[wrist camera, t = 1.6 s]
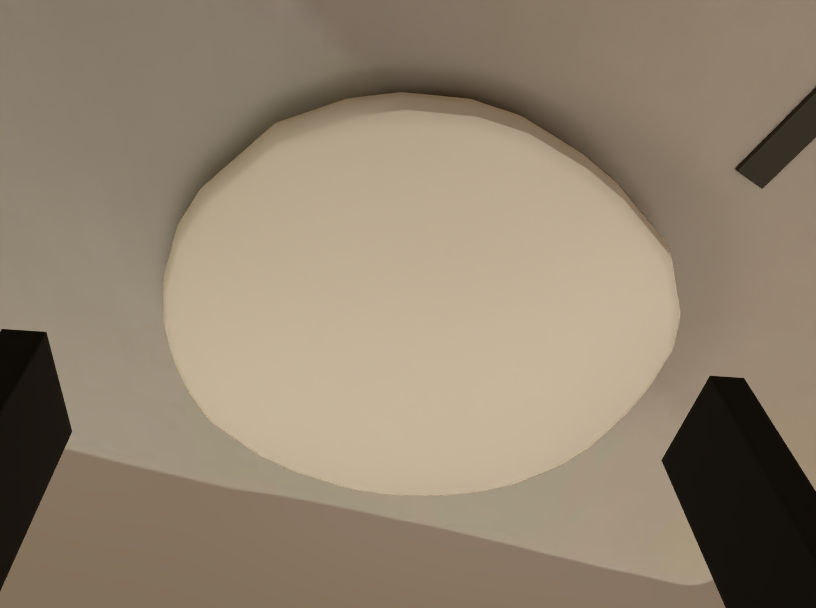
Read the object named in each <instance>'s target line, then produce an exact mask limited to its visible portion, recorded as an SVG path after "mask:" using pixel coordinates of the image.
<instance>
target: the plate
mask: <svg viewBox="0 0 816 608" xmlns="http://www.w3.org/2000/svg"><path fill="white" fill-rule="evenodd" d="M680 317H681V314H680V307H679V301H678V295H677V288H676V282H675V276H674V270H673V263H672V257H671V253H670V250H669V246H668V245H667V243H666V242H665V241H664V240H663V238H662V237H661V236H660V235H659V233H658V232H657V231H656V230H655V229H654V227H653V226H652V225H651V224H650V223H649V221H648V220H647V219H646V218H645V217H644V215H643V214H642V213H641V212H640V211H639V209H638V208H637V207H636V206H635V205H634V203H633V202H632V201H631V200H630V199H629V197H628V196H627V195H626V194H625V193H624V191H623V190H622V189H621V188H620V187H619V185H618V184H617V183H616V182H615V181H614V180H613V179H611V178H610V177H609V176H608V175H607V174H606V173H604V172H603V171H602V170H601V169H600V168H599V167H597V166H596V165H595V164H594V163H593V162H592V161H590V160H589V159H588V158H587V157H586V156H585V155H584V154H582V153H581V152H579V151H577V150H576V149H574V148H573V147H571V146H569V145H568V144H566V143H565V142H563V141H561V140H560V139H558V138H556V137H555V136H553V135H552V134H550V133H548V132H547V131H545V130H544V129H542V128H540V127H539V126H537V125H535V124H534V123H532V122H531V121H529V120H527V119H526V118H524V117H522V116H520V115H518V114H515V113H512V112H509V111H506V110H503V109H500V108H497V107H494V106H491V105H487V104H484V103H481V102H478V101H475V100H472V99H468V98H458V97H447V96H437V95H426V94H416V93H405V92H398V93H389V94H381V95H372V96H364V97H355V98H347V99H344V100H341V101H338V102H335V103H332V104H329V105H326V106H323V107H320V108H317V109H314V110H311V111H308V112H305V113H303V114H300V115H297V116H294V117H291V118H288V119H285V120H282V121H279V122H276V123H275V124H274V125H272V126H271V127H270V128H269V129H268V130H267V131H266V132H264V133H263V134H262V135H261V136H260V137H259V138H258V139H256V140H255V141H254V142H253V143H252V144H251V145H250V146H248V147H247V148H246V149H245V150H244V151H243V152H242V153H240V154H239V155H238V156H237V157H236V158H235V159H234V160H232V161H231V162H230V163H229V164H228V165H227V166H226V167H224V168H223V169H222V170H221V171H220V172H219V173H218V174H216V175H215V176H214V177H213V178H212V179H211V180H210V181H208V182H207V183H206V184H205V185H204V186H203V187H202V188H201V189H200V190H199V192H198V193H197V195H196V197H195V198H194V200H193V201H192V203H191V204H190V206H189V208H188V209H187V211H186V212H185V214H184V215H183V217H182V219H181V220H180V222H179V223H178V226H177V229H176V233H175V236H174V240H173V244H172V247H171V251H170V255H169V258H168V262H167V266H166V269H165V273H164V277H163V319H164V327H165V331H166V335H167V339H168V342H169V346H170V350H171V354H172V358H173V361H174V363H175V365H176V367H177V370H178V372H179V374H180V376H181V378H182V380H183V382H184V384H185V386H186V388H187V390H188V392H189V393H190V395H191V396H192V398H193V399H194V400H195V402H196V403H197V404H198V406H199V407H200V409H201V410H202V411H203V413H204V414H205V416H206V417H207V418H208V420H209V421H210V422H212V423H213V424H215V425H216V426H217V427H219V428H220V429H222V430H223V431H225V432H226V433H228V434H229V435H230V436H232V437H233V438H235V439H236V440H238V441H239V442H240V443H242V444H243V445H245V446H246V447H248V448H249V449H251V450H252V451H253V452H255V453H256V454H258V455H260V456H262V457H264V458H266V459H268V460H270V461H272V462H274V463H276V464H279V465H281V466H283V467H285V468H287V469H289V470H291V471H294V472H297V473H300V474H304V475H307V476H310V477H313V478H317V479H320V480H323V481H326V482H330V483H333V484H336V485H340V486H343V487H346V488H349V489H354V490H360V491H367V492H373V493H379V494H386V495H427V496H442V495H453V494H463V493H474V492H481V491H486V490H490V489H495V488H500V487H504V486H509V485H514V484H517V483H520V482H522V481H524V480H527V479H529V478H531V477H534V476H536V475H539V474H541V473H543V472H546V471H548V470H551V469H553V468H555V467H558V466H560V465H562V464H563V463H565V462H567V461H568V460H570V459H571V458H573V457H575V456H576V455H578V454H579V453H581V452H583V451H584V450H586V449H587V448H589V447H591V446H592V445H593V444H594V443H595V442H596V441H598V440H599V439H600V438H601V437H602V436H603V435H604V434H605V433H606V432H607V431H608V430H610V429H611V428H612V427H613V426H614V425H615V424H616V423H617V422H618V421H619V420H621V419H622V418H623V417H624V416H625V415H626V414H627V413H628V412H629V411H630V410H631V409H632V407H633V406H634V405H635V404H636V403H637V401H638V400H639V399H640V398H641V397H642V395H643V394H644V393H645V392H646V391H647V390H648V388H649V387H650V386H651V384H652V383H653V381H654V380H655V378H656V376H657V375H658V373H659V372H660V370H661V368H662V367H663V365H664V364H665V362H666V360H667V359H668V357H669V356H670V354H671V352H672V351H673V348H674V343H675V339H676V334H677V330H678V326H679V321H680Z"/></svg>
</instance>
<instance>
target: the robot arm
mask: <svg viewBox="0 0 816 608" xmlns="http://www.w3.org/2000/svg"><path fill="white" fill-rule="evenodd" d="M71 433H72V429H71V425H70V422H69V418H68V414H67V410H66V406H65V402H64V398H63V395H62V391H61V387H60V383H59V379H58V375H57V372H56V368H55V364H54V360H53V356H52V352H51V348H50V345H49V341H48V337H47V333H46V332H38V331H23V330H7V329H2V330H1V332H0V590H1V588H2V586H3V584H4V581H5V579H6V577H7V575H8V573H9V570H10V568H11V566H12V563H13V561H14V559H15V557H16V555H17V553H18V550H19V548H20V546H21V544H22V541H23V539H24V537H25V535H26V533H27V530H28V528H29V526H30V524H31V521H32V519H33V517H34V515H35V512H36V510H37V508H38V506H39V503H40V501H41V499H42V497H43V495H44V493H45V490H46V488H47V486H48V483H49V481H50V479H51V477H52V475H53V472H54V470H55V468H56V466H57V464H58V462H59V459H60V457H61V455H62V453H63V450H64V448H65V446H66V444H67V442H68V439H69V437H70V435H71ZM662 462H663V465H664V467H665V469H666V472H667V474H668V476H669V478H670V481H671V483H672V485H673V488H674V490H675V492H676V495H677V497H678V499H679V501H680V504H681V506H682V508H683V511H684V513H685V515H686V518H687V520H688V522H689V524H690V527H691V529H692V531H693V534H694V536H695V538H696V541H697V543H698V545H699V547H700V550H701V552H702V554H703V557H704V559H705V561H706V564H707V566H708V568H709V570H710V573H711V575H712V577H713V580H714V582H715V584H716V586H717V589H718V591H719V593H720V596H721V598H722V600H723V602H724V605H725V607H726V608H816V491H815V490H814V488H813V486H812V485H811V483H810V482H809V480H808V479H807V477H806V475H805V474H804V472H803V471H802V469H801V468H800V466H799V464H798V463H797V461H796V460H795V458H794V456H793V455H792V453H791V452H790V450H789V449H788V447H787V445H786V444H785V442H784V441H783V439H782V437H781V436H780V434H779V433H778V431H777V430H776V428H775V426H774V425H773V423H772V422H771V420H770V419H769V417H768V415H767V414H766V412H765V411H764V409H763V407H762V406H761V404H760V403H759V401H758V400H757V398H756V396H755V395H754V393H753V392H752V390H751V388H750V387H749V385H748V384H747V382H746V381H745V379H744V378H734V377H719V376H710V377H709V378H708V380H707V382H706V384H705V385H704V387H703V389H702V391H701V392H700V394H699V396H698V398H697V399H696V401H695V403H694V405H693V406H692V408H691V410H690V412H689V413H688V415H687V417H686V419H685V420H684V422H683V424H682V426H681V427H680V429H679V431H678V433H677V434H676V436H675V438H674V440H673V441H672V443H671V445H670V446H669V448H668V450H667V452H666V453H665V455H664V457H663V459H662Z"/></svg>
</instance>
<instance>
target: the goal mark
mask: <svg viewBox="0 0 816 608" xmlns="http://www.w3.org/2000/svg"><path fill="white" fill-rule="evenodd" d="M815 137H816V88H815V89H814V90H813V91H812V92H811V93H810V94H809V95H808V96H807V97H806V98H805V99H804V100H803V101H802V102H801V104H800V105H799V106H798V107H797V108H796V109H795V110H794V111H793V112H792V113H791V114H790V115H789V116H788V117H787V118H786V119H785V120H784V121H783V122H782V123H781V124H780V125H779V126H778V127H777V128H776V129H775V130H774V131H773V132H772V133H771V134H770V135H769V136H768V137H767V138H766V139H765V140H764V141H763V142H762V143H761V144H760V145H759V146H758V147H757V148H756V149H755V150H754V151H753V152H752V153H751V154H750V155H749V156H748V157H747V158H746V159H745V160H744V161H743V162H742V163H741V164H740V165H739V166H738V167H737V168H736V170H737V171H738V172H739V173H741V174H742V175H744V176H745V177H746V178H748V179H749V180H751V181H752V182H754V183H755V184H756V185H758V186H759V187H761V188H763V187H765V186H766V185H767V184H768V183H769V182H770V181H771V180H772V179H773V178H774V177H775V176H776V175H777V174H778V173H779V172H780V171H781V170H782V169H783V168H784V167H785V166H786V165H787V164H788V163H789V162H790V161H791V160H792V159H794V158H795V157H796V156H797V155H798V154H799V153H800V152H801V151H802V150H803V149H804V148H805V147H806V146H807V145H808V144H809V143H810V142H811V141H812V140H813V139H814V138H815Z"/></svg>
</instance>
